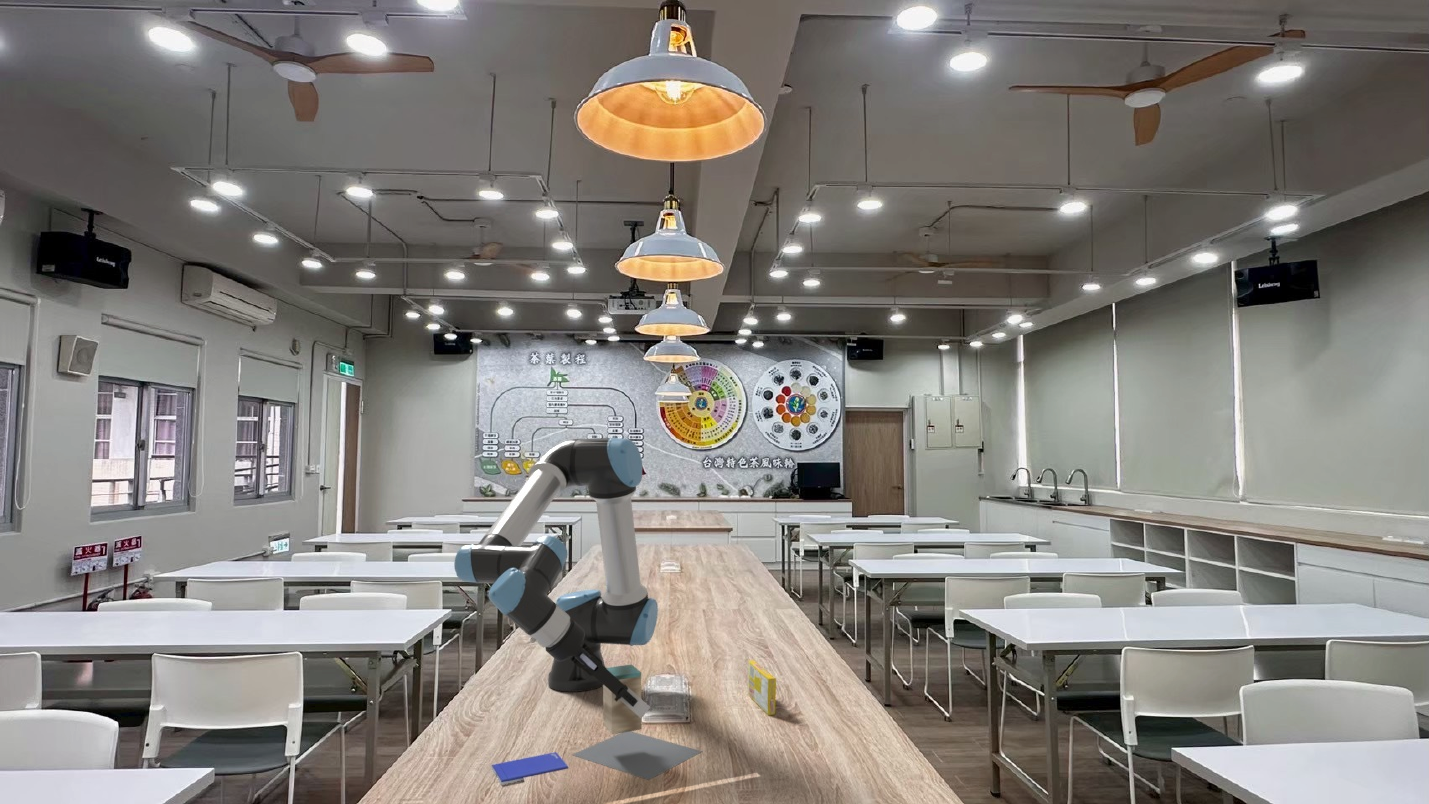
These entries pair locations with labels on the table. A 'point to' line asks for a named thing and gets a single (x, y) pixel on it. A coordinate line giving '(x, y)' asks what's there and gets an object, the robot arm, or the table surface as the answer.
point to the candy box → (761, 687)
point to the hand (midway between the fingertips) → (639, 706)
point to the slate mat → (637, 754)
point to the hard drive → (527, 767)
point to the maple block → (618, 713)
